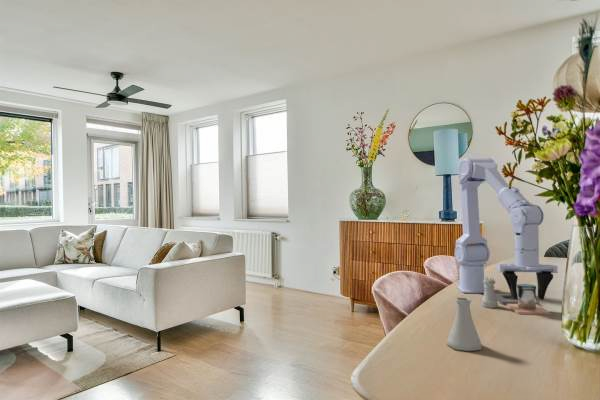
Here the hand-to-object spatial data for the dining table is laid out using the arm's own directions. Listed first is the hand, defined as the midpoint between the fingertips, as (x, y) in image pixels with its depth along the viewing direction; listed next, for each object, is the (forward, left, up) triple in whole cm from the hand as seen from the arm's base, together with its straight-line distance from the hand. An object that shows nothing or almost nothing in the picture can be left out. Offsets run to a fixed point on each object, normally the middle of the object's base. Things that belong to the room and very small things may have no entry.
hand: (527, 298), depth 108 cm
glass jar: (-1, 0, -3) cm, 3 cm away
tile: (0, 0, -3) cm, 3 cm away
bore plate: (-10, 0, -3) cm, 10 cm away
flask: (+29, -23, -3) cm, 37 cm away
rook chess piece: (-3, -9, -3) cm, 10 cm away
